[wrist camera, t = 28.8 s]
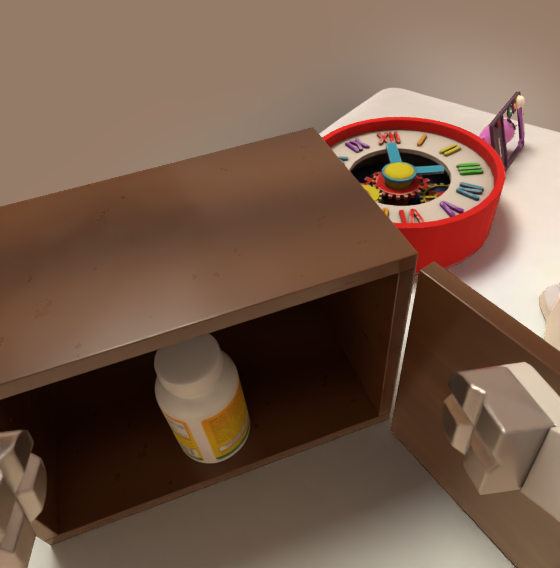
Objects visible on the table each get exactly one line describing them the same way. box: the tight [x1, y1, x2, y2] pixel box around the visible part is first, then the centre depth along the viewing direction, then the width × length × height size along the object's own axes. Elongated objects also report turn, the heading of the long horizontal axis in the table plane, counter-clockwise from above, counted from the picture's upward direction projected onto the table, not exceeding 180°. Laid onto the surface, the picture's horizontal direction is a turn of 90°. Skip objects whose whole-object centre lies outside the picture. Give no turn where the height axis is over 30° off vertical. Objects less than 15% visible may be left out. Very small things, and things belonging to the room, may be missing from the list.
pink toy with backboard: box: [479, 92, 525, 171], centre depth 56 cm, size 7×5×9 cm
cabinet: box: [0, 127, 418, 545], centre depth 32 cm, size 14×25×17 cm, turn 109°
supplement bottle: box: [154, 333, 250, 463], centre depth 31 cm, size 5×5×10 cm
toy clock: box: [322, 117, 505, 274], centre depth 50 cm, size 20×6×20 cm
